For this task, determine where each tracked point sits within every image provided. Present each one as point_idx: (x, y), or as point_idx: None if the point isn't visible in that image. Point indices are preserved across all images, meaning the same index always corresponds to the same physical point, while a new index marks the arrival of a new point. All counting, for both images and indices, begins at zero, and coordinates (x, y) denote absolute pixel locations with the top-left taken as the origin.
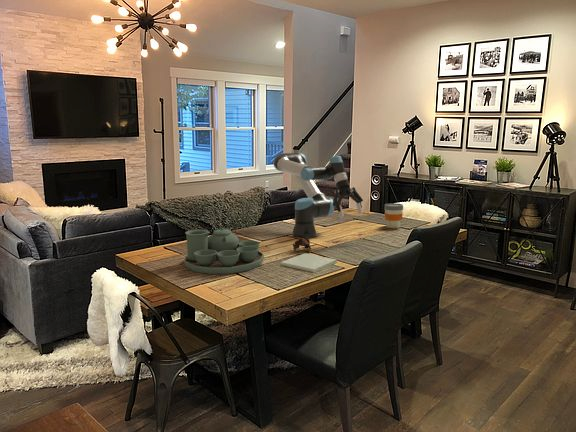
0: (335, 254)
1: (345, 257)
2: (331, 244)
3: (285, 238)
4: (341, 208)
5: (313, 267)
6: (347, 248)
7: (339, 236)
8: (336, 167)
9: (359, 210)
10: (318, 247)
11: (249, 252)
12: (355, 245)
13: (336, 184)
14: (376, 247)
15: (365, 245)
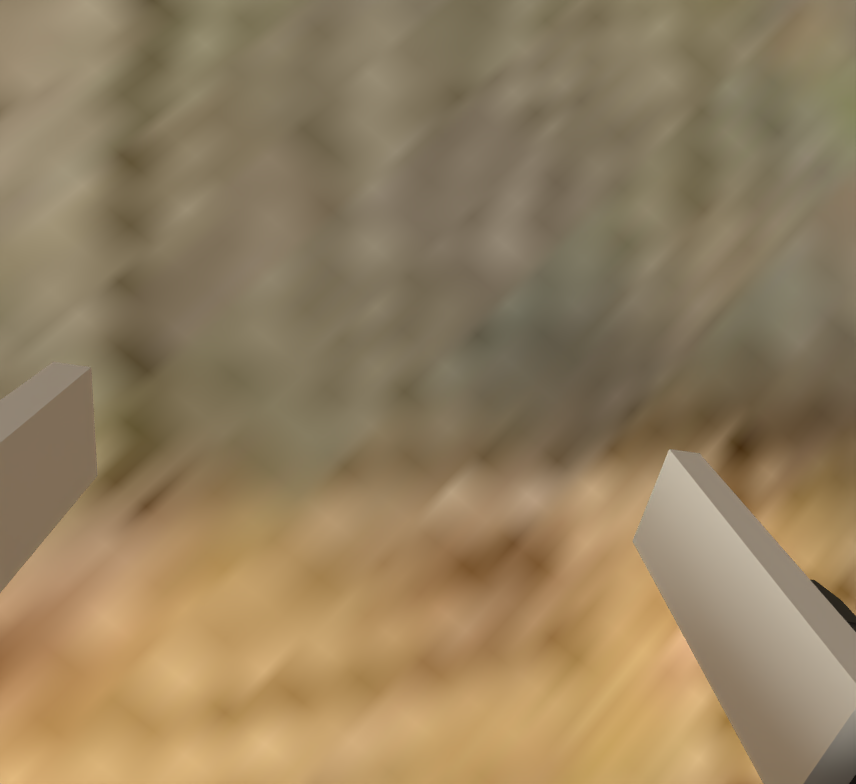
0: (844, 188)
1: (841, 51)
2: (617, 507)
3: None
4: (799, 593)
5: None
6: (601, 270)
7: (275, 749)
8: None
9: (41, 482)
10: (804, 499)
11: None
12: (444, 302)
13: None
14: (328, 89)
15: (357, 229)
